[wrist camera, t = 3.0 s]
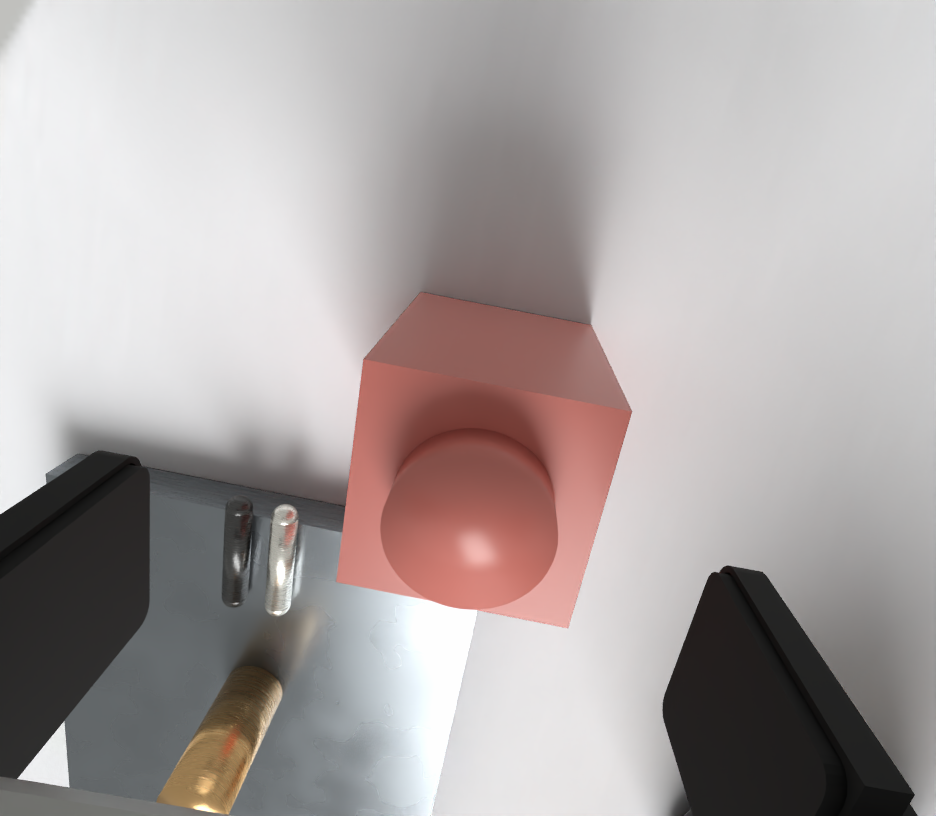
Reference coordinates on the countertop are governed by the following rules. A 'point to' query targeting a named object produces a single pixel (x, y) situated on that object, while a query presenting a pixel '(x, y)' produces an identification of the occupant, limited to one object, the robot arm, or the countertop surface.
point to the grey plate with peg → (268, 669)
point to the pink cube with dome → (481, 459)
